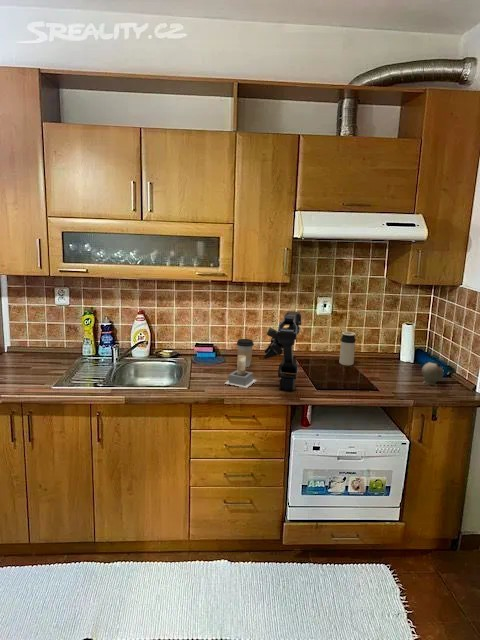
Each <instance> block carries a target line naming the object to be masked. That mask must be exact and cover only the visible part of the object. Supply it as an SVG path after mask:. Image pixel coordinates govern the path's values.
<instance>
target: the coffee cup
mask: <svg viewBox="0 0 480 640" xmlns="http://www.w3.org/2000/svg"><path fill="white" fill-rule="evenodd" d="M236 346H237V348H236V351H237V356H238V355H245V356H246V367H249V366H250V367H251V360H252V356H253V355H252V354H253V346H254V342H253V339H250V338H240V339H238V340H237V341H236Z"/></svg>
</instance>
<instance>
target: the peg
mask: <svg viewBox="0 0 480 640" xmlns="http://www.w3.org/2000/svg"><path fill="white" fill-rule="evenodd" d="M236 362H237V364H236V367H237V369H236V370H237V375H238V376H245V371H246V369H245V367H246V356H245V355H238V354H237V361H236Z"/></svg>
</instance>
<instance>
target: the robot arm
mask: <svg viewBox="0 0 480 640" xmlns="http://www.w3.org/2000/svg"><path fill="white" fill-rule="evenodd" d="M302 317H303V316H302V314H301V311H293V310H291V311H290V310H288V311H286V313H285V314H284V316H283V320H282V321H281V322H280V323H279V324H278V328H277V330H276V329H274V328H273V327H269V328H268V330H267V332H266V336H268V337H271V338H270V343H269V345H268V346H267V348H266V349H265V350H264V354H265V355H264V356H263V359H265V360H266V359H269V358H273V357H276V356H277V357H278V356H281V355H282V354H283V356H282V360H281V362H280V363H279V366H278V372H277V376H278V378H279V388H278V390H279V391H285V392H287V393H288V392H289V393H292V392H293V391H294V390H295V389H296V388H297V387H296V380H297V378H298V373H299V364H298V360H297V357H296V356H294V350H293V347H294V346H293V345H296V344H295V343H296V342H295V341H297V338H298V335H299V334H300V332H301V328H300V326H301V325H302V320H303V319H302ZM286 325H287V326H288V327H287V328H285V326H286Z"/></svg>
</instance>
